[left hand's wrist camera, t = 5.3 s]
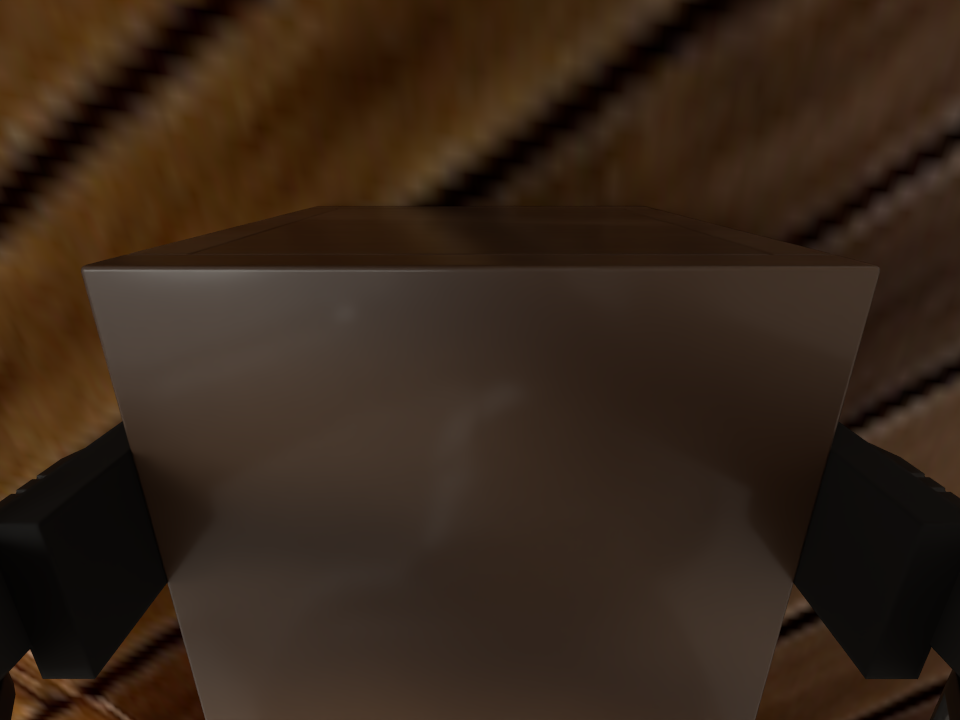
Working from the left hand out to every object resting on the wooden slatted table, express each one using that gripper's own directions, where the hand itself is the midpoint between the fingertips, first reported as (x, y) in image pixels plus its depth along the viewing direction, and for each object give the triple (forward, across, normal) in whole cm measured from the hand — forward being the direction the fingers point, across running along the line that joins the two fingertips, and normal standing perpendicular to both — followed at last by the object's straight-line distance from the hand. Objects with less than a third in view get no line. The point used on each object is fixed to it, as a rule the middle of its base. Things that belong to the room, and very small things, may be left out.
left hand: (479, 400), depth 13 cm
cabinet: (+6, 0, -4) cm, 7 cm away
